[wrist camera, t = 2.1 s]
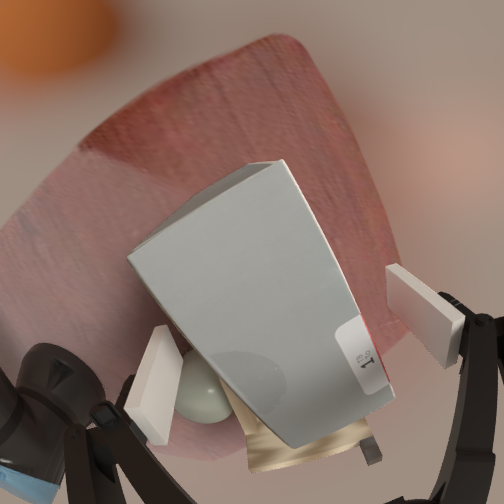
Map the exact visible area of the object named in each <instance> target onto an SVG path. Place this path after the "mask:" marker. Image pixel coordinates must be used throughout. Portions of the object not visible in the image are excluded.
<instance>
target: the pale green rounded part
mask: <svg viewBox="0 0 504 504" xmlns="http://www.w3.org/2000/svg"><path fill="white" fill-rule="evenodd" d="M182 358H183V365H182V370H181V375H180V380H179V385H178V390H177V395H176V400H175V406H174V408H175V410H176V411H177V412H178V413H179V414H180V415H181V416H183V417H184V418H186V419H188V420H190V421H193V422H197V423H216V422H219V421H222V420H224V419H226V418H227V417H228V416H229V415H230V414H231V413H232V411H233V408H232V406H231V404H230V402H229V400H228V397H227V395H226V393H225V391H224V389H223V387H222V384H221V382H220V380H219V377H218V375H217V374H216V373H215V372H214V371H213V370H212V369H211V368H210V366H209V365H208V364H207V363H206V362H205V361H204V359H203V358H202V357H201V356H200V355H199V354H198V353H197V351H196V350H195V349H192V350H190V351H188V352H187V353H186V354H185V355H184V356H183V357H182Z"/></svg>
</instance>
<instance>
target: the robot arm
mask: <svg viewBox="0 0 504 504" xmlns="http://www.w3.org/2000/svg"><path fill="white" fill-rule="evenodd" d="M385 268H386V284H387V306H388V307H389V308H390V309H391V310H392V312H393V313H394V314H395V315H396V316H397V317H398V318H399V319H400V320H401V321H402V322H403V323H404V324H405V325H406V327H407V328H408V329H409V330H410V331H411V332H412V333H413V334H414V335H415V336H416V337H417V339H418V340H419V341H420V342H421V343H422V344H423V345H424V346H425V347H426V349H427V350H428V351H429V352H430V353H431V354H432V355H433V357H434V358H435V359H436V360H437V361H438V362H439V363H440V365H442V367H443V368H444V369H446V368H448V367H450V366H452V365H454V364H456V363H457V359H458V355H459V354H460V355H461V356H462V357H463V361H462V365H461V369H460V373H459V374H461V376H460V384H459V391H458V398H457V403H456V409H455V414H454V419H453V424H452V429H451V433H450V437H449V441H448V445H447V449H446V453H445V456H444V460H443V463H442V467H441V470H440V473H439V476H438V479H437V482H436V484H435V487H434V489H433V491H432V493H431V495H430V498H429V500H426V499H414V500H406V501H405V500H404V498H403V496H401V497H399V498H397V499H395V500H392V501H390V502H387V503H385V504H486V501H487V497H488V494H489V490H490V485H491V481H492V476H493V471H494V466H495V458H496V457H495V454H494V453H493V452H492V449H493V441H494V433H495V424H496V412H497V395H498V367H499V370H500V374H501V377H502V381H503V384H504V316H503V317H499V318H495V319H494V318H493V317H492V316H490V315H488V314H483V313H481V314H475V313H473V312H472V311H471V310H469V309H468V308H467V307H466V306H464V305H463V304H462V303H460V302H459V301H458V300H456V299H455V298H454V297H452V296H451V295H450V294H447V293H444V292H439V293H436V292H434V291H433V290H432V289H430V288H429V287H428V286H427V285H425V284H424V283H423V282H421V281H420V280H419V279H417V278H416V277H415V276H413V275H412V274H410V273H409V272H408V271H406V270H405V269H404V268H402V267H401V266H399V265H398V264H397V263H395V264H392V265H389V266H386V267H385ZM182 365H183V358H182V356H181V354H180V352H179V350H178V348H177V346H176V344H175V341H174V339H173V337H172V335H171V333H170V330H169V328H168V326H167V324H166V325H161V326H156V327H155V328H154V331H153V333H152V336H151V338H150V341H149V343H148V346H147V348H146V351H145V353H144V356H143V358H142V361H141V363H140V366H139V368H138V371H137V374H135V375H130V376H129V377H128V378H127V380H126V381H125V382H124V384H123V387H122V390H121V392H120V396H119V397H118V399H117V402H116V404H115V406H114V405H113V403H111V402H110V401H107V400H105V392H104V389H103V386H102V384H101V383H100V381H99V379H98V378H97V376H96V375H95V374H94V372H93V371H92V370H91V369H90V368H89V367H88V366H87V365H86V364H85V363H84V362H83V361H82V360H80V359H79V358H78V357H77V356H75V355H74V354H72V353H71V352H69V351H67V350H65V349H63V348H61V347H59V346H56V345H53V344H48V343H40V344H36V345H34V346H33V347H32V348H31V349H30V350H29V351H28V352H27V354H26V355H25V356H24V358H23V361H22V365H21V368H20V371H19V375H18V379H17V383H16V386H15V388H14V386H13V385H12V383H11V382H10V381H9V379H8V378H7V376H6V375H5V373H4V372H3V370H2V369H1V367H0V487H2V488H3V489H5V490H7V491H8V492H10V493H12V494H13V495H15V496H17V497H19V498H21V499H23V500H26V501H28V502H30V503H33V504H51V503H52V502H53V500H54V498H55V495H56V493H57V491H58V489H60V485H61V482H62V479H63V476H64V473H65V475H66V485H67V494H68V501H69V504H126V501H125V497H124V494H123V490H122V487H121V483H120V480H119V476H118V473H117V468H116V464H119V466H120V467H121V469H122V471H123V472H124V474H125V475H126V477H127V478H128V480H129V482H130V483H131V485H132V486H133V487H134V489H135V490H136V492H137V493H138V495H139V496H140V497H141V499H142V500H143V502H144V503H145V504H197V503H196V502H195V501H194V500H193V499H192V498H191V497H190V496H189V495H188V494H187V493H186V492H185V490H184V489H183V488H182V487H181V486H180V485H179V484H178V483H177V482H176V481H175V480H174V478H173V477H172V476H171V475H170V474H169V473H168V472H167V470H166V469H165V468H164V467H163V466H162V465H161V463H160V462H159V461H158V460H157V458H156V457H155V456H154V455H153V454H152V452H151V451H150V450H149V448H148V447H147V446H146V442H147V439H148V440H149V441H150V443H151V444H152V445H153V446H156V445H168V439H169V433H170V428H171V422H172V417H173V411H174V406H175V400H176V395H177V390H178V385H179V380H180V375H181V370H182ZM92 422H93V423H94V424H95V425H96V426H97V427H95V428H91V429H86V428H87V427H88V426H89V425H90V424H91V423H92Z"/></svg>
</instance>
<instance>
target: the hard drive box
mask: <svg viewBox="0 0 504 504" xmlns="http://www.w3.org/2000/svg"><path fill="white" fill-rule="evenodd" d="M127 261H128V262H129V264H130V265H131V267H132V269H133V270H134V272H135V273H136V275H137V276H138V278H139V279H140V280H141V282H142V283H143V285H144V286H145V287H146V289H147V290H148V291H149V293H150V294H151V295H152V297H153V298H154V299H155V301H156V302H157V303H158V305H159V306H160V307H161V309H162V310H163V311H164V312H165V314H166V315H167V316H168V317H169V319H170V320H171V321H172V323H173V324H174V325H175V326H176V328H177V329H178V330H179V331H180V333H181V334H182V335H183V336H184V337H185V339H186V340H187V341H188V342H189V343H190V345H191V346H192V347H193V348H194V349H195V350H196V351H197V353H198V354H199V355H200V356H201V357H202V358H203V359H204V361H205V362H206V363H207V364H208V365H209V366H210V368H211V369H212V370H213V371H214V372H215V373H216V374H217V375H218V377H219V378H220V379H221V380H222V381H223V382H224V383H225V384H226V385H227V386H228V387H229V388H230V390H231V391H232V392H233V393H234V394H235V395H236V396H237V397H238V398H239V399H240V400H241V401H242V402H243V403H244V404H245V406H246V407H247V408H248V409H249V410H250V411H251V412H252V413H253V414H254V415H255V416H256V417H257V418H258V419H259V420H260V421H261V422H262V423H263V424H264V425H265V426H266V427H267V428H268V429H269V430H271V431H272V432H273V433H274V434H275V435H276V436H277V437H278V438H279V439H280V440H282V441H283V442H284V443H285V444H286V445H287V446H289V447H290V448H292V449H297V448H300V447H302V446H304V445H307V444H309V443H311V442H314V441H316V440H318V439H321V438H323V437H325V436H327V435H329V434H331V433H334V432H336V431H338V430H340V429H342V428H344V427H346V426H348V425H350V424H352V423H354V422H356V421H358V420H359V419H361V418H363V417H365V416H366V415H368V414H370V413H372V412H374V411H375V410H377V409H379V408H381V407H383V406H384V405H386V404H388V403H389V402H390V401H392V400H393V399H395V397H396V396H395V394H394V392H393V389H392V386H391V383H390V380H389V378H388V375H387V373H386V370H385V367H384V365H383V363H382V360H381V357H380V355H379V352H378V350H377V348H376V345H375V343H374V341H373V339H372V336H371V334H370V332H369V330H368V328H367V325H366V323H365V321H364V319H363V316H362V314H361V313H360V311H359V309H358V306H357V304H356V302H355V300H354V297H353V295H352V293H351V291H350V289H349V286H348V284H347V282H346V279H345V277H344V275H343V273H342V270H341V268H340V266H339V264H338V262H337V260H336V258H335V256H334V254H333V252H332V250H331V248H330V246H329V244H328V242H327V240H326V238H325V236H324V234H323V232H322V230H321V228H320V226H319V224H318V222H317V220H316V218H315V216H314V214H313V212H312V211H311V209H310V207H309V205H308V203H307V201H306V199H305V197H304V196H303V194H302V192H301V190H300V188H299V186H298V185H297V183H296V181H295V179H294V177H293V176H292V174H291V172H290V170H289V168H288V167H287V165H286V163H285V161H284V160H283V159H280V160H279V161H268V162H259V163H250V164H247V165H245V166H243V167H241V168H239V169H238V170H236V171H234V172H232V173H231V174H229V175H227V176H225V177H224V178H222V179H220V180H219V181H217V182H215V183H214V184H212V185H210V186H209V187H207V188H205V189H204V190H202V191H201V192H199V193H198V194H196V195H195V196H193V197H192V198H190V199H189V200H188V201H187V202H186V203H185V204H184V205H182V206H181V207H180V208H179V209H178V210H177V211H176V212H174V213H173V214H172V215H171V216H170V217H169V218H167V219H166V220H165V221H164V222H163V223H162V224H161V225H160V226H158V227H157V228H156V229H155V230H154V231H153V232H152V233H151V234H150V235H148V236H147V237H146V238H145V239H144V240H143V241H142V242H141V243H140V244H139V245H138V246H137V247H136V248H134V249H133V250H132V251H131V252H130V253H129V254H128V256H127Z"/></svg>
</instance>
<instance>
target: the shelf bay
mask: <svg viewBox="0 0 504 504" xmlns="http://www.w3.org/2000/svg"><path fill="white" fill-rule="evenodd" d="M219 380H220V382H221V384H222V387H223V389H224V391H225V393H226V395H227V397H228V400H229V402H230V404H231V406H232V408H233V410H234V412H235V414H236V416H237V418H238V420H239V422H240V424H241V426H242V428H243V430H244V432H245V434H246V443H247V455H248V467H249V470H250V472H251V473H256V472H262V471H268V470H273V469H278V468H282V467H287V466H292V465H296V464H300V463H304V462H308V461H312V460H316V459H319V458H323V457H326V456H330V455H333V454H336V453H339V452H342V451H345V450H348V449H351V448H354V447H357V446H360V447H361V450H362V452H363V454H364V457H365V459H366V461H367V464H368V466H369V465H372V464H374V463H377V462H379V461H381V460H382V454H381V451H380V449H379V447H378V445H377V443H376V441H375V438H374V436H373V434H372V432H371V430H370V428H369V426H368V424H367V422H366V420H365V417H363V418H361V419H359V420H358V421H356V422H354V423H352V424H350V425H348V426H346V427H344V428H342V429H340V430H338V431H336V432H334V433H331V434H329V435H327V436H325V437H323V438H321V439H318V440H316V441H314V442H311V443H309V444H307V445H304V446H302V447H300V448H297V449H292V448H290V447H289V446H287V445H286V444H285V443H284V442H283V441H282V440H280V439H279V438H278V437H277V436H276V435H275V434H274V433H273V432H272V431H271V430H269V429H268V428H267V427H266V426H265V425H264V424H263V423H262V422H261V421H260V420H259V419H258V418H257V417H256V416H255V415H254V414H253V413H252V412H251V411H250V410H249V409H248V408H247V407H246V406H245V404H244V403H243V402H242V401H241V400H240V399H239V398H238V397H237V396H236V395H235V394H234V393H233V392H232V391H231V390H230V388H229V387H228V386H227V385H226V384H225V383H224V382H223V381H222V380H221V379H220V378H219Z"/></svg>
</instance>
